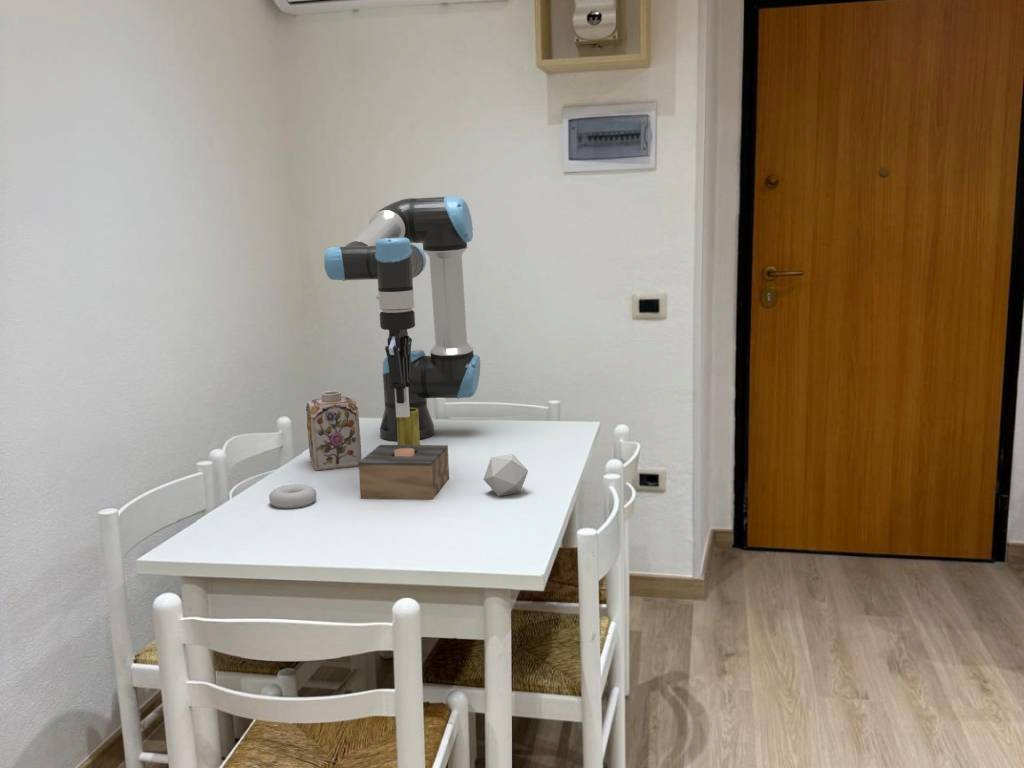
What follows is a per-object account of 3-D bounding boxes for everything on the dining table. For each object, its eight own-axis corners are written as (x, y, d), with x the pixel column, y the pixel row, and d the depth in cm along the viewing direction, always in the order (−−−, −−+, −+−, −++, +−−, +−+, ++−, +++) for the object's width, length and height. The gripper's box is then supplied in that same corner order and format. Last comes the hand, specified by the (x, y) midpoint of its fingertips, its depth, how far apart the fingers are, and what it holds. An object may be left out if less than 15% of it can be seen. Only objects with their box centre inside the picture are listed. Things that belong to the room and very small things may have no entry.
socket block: (382, 478, 224) (380, 444, 222) (449, 479, 221) (447, 445, 220) (360, 498, 208) (358, 462, 207) (432, 499, 205) (430, 463, 204)
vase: (418, 470, 229) (415, 412, 227) (394, 470, 230) (390, 412, 228) (425, 464, 235) (423, 407, 233) (401, 463, 236) (398, 407, 234)
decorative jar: (355, 455, 246) (351, 386, 243) (363, 466, 235) (358, 394, 232) (308, 460, 243) (303, 390, 239) (313, 471, 232) (308, 398, 229)
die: (517, 487, 215) (489, 453, 214) (542, 474, 209) (513, 439, 208) (498, 510, 209) (468, 475, 208) (523, 497, 203) (493, 461, 202)
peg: (399, 480, 217) (397, 447, 216) (418, 480, 216) (416, 447, 215) (393, 486, 213) (391, 452, 211) (413, 486, 212) (411, 452, 211)
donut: (311, 495, 213) (265, 501, 209) (311, 480, 212) (265, 485, 209) (321, 507, 204) (273, 513, 200) (320, 491, 203) (272, 497, 199)
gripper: (388, 306, 215) (394, 410, 219) (371, 314, 202) (377, 423, 206) (421, 306, 213) (426, 410, 218) (405, 313, 201) (411, 423, 205)
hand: (403, 416), depth 212 cm, fingers closed
